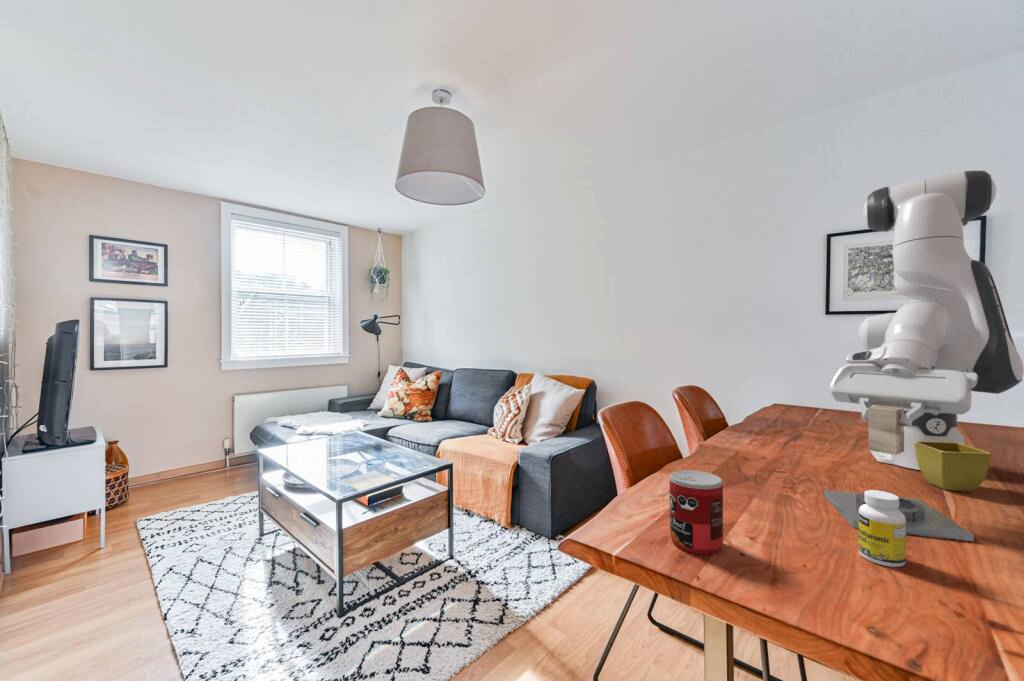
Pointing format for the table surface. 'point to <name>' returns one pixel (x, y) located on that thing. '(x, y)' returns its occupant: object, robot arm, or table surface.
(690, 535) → the canned food
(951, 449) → the flower pot
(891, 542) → the supplement bottle
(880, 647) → the table surface
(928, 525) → the grey square socket board
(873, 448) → the birch block
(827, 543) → the table surface
